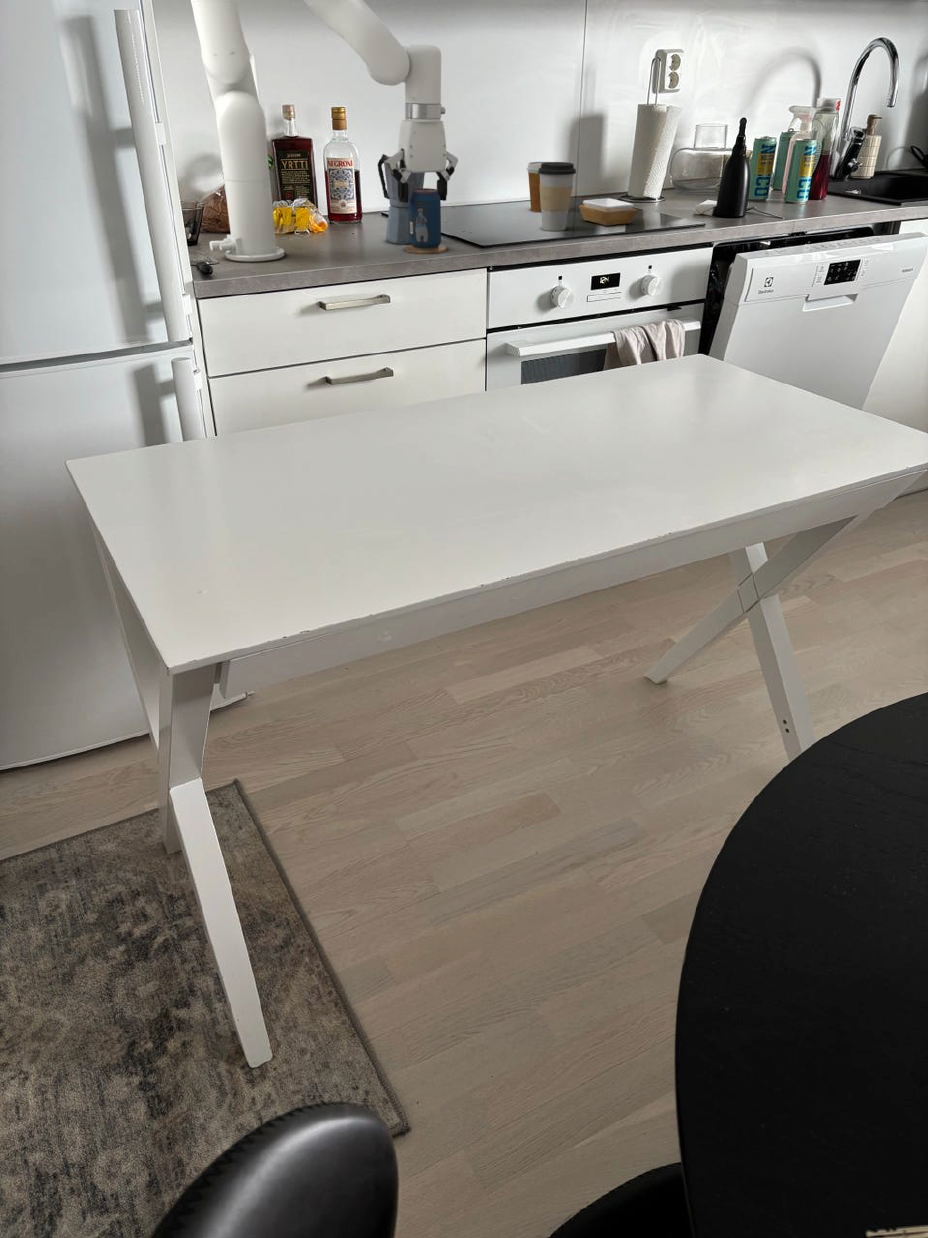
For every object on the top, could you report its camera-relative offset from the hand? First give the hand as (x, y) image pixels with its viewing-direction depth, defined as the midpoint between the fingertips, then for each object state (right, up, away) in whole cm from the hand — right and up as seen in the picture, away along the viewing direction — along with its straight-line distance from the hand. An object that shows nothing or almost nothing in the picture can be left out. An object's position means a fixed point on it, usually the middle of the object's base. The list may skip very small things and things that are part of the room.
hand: (422, 200), depth 206 cm
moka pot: (-5, -3, +15) cm, 16 cm away
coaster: (0, -9, +6) cm, 10 cm away
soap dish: (+47, +12, +39) cm, 62 cm away
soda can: (0, -8, +5) cm, 10 cm away
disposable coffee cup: (+31, +23, +57) cm, 69 cm away
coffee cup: (+32, +6, +30) cm, 44 cm away
